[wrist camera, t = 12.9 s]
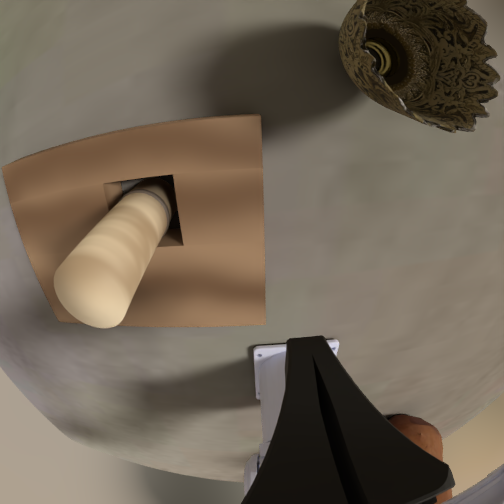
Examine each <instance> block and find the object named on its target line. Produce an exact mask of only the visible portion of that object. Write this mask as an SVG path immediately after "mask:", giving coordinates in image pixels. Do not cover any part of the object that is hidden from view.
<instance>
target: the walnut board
mask: <svg viewBox="0 0 504 504" xmlns="http://www.w3.org/2000/svg"><path fill="white" fill-rule="evenodd" d="M2 171H3V176H4V180H5V184H6V189H7V193H8V196H9V200H10V204H11V207H12V211H13V214H14V217H15V220H16V224H17V227H18V230H19V233H20V235H21V238H22V241H23V244H24V246H25V249H26V252H27V254H28V257H29V259H30V262H31V264H32V267H33V269H34V271H35V274H36V276H37V278H38V281H39V283H40V285H41V287H42V289H43V291H44V293H45V295H46V298H47V300H48V302H49V304H50V306H51V307H52V309H53V311H54V313H55V315H56V317H57V319H58V321H59V322H69V323H81V324H85V323H83V322H81V321H79V320H78V319H76V318H75V317H74V316H73V315H71V314H70V313H69V312H68V311H67V310H66V309H65V308H64V306H63V305H62V304H61V302H60V300H59V299H58V297H57V294H56V292H55V288H54V275H55V272H56V270H57V269H58V267H59V266H60V265H61V264H62V263H63V261H64V260H65V259H66V258H67V257H68V256H69V254H70V253H71V252H72V251H73V250H74V249H75V248H76V246H77V245H78V244H79V243H80V242H81V241H82V240H83V239H84V238H85V236H86V235H87V234H88V233H89V232H90V231H91V230H92V229H93V228H94V227H95V226H96V225H97V224H98V223H99V222H100V221H101V220H102V219H103V218H104V216H105V215H106V214H107V213H108V212H109V211H110V210H111V209H112V208H113V207H114V206H116V205H117V203H118V201H119V200H120V199H121V198H122V197H123V192H122V187H121V181H123V180H130V179H138V178H145V177H153V176H162V175H171V174H173V178H174V186H175V193H176V200H177V207H178V213H179V220H180V226H181V228H177V229H167V231H166V233H165V235H164V236H163V237H162V238H161V240H160V242H159V244H158V246H157V248H156V250H155V252H154V254H153V256H152V258H151V260H150V262H149V264H148V266H147V268H146V270H145V272H144V274H143V276H142V279H141V281H140V283H139V285H138V287H137V289H136V292H135V294H134V296H133V298H132V300H131V303H130V305H129V307H128V309H127V312H126V314H125V316H124V318H123V320H122V321H121V322H120V323H119V324H118V325H116V326H142V327H218V326H246V325H266V309H265V246H264V201H263V164H262V132H261V116H260V115H259V114H244V115H227V116H214V117H203V118H193V119H184V120H176V121H169V122H162V123H156V124H150V125H144V126H138V127H133V128H128V129H123V130H118V131H113V132H108V133H104V134H100V135H96V136H92V137H88V138H84V139H80V140H76V141H73V142H69V143H66V144H62V145H59V146H56V147H52V148H49V149H46V150H43V151H40V152H37V153H34V154H31V155H28V156H26V157H23V158H20V159H18V160H16V161H14V162H12V163H10V164H7V165H5V166H3V167H2Z"/></svg>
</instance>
